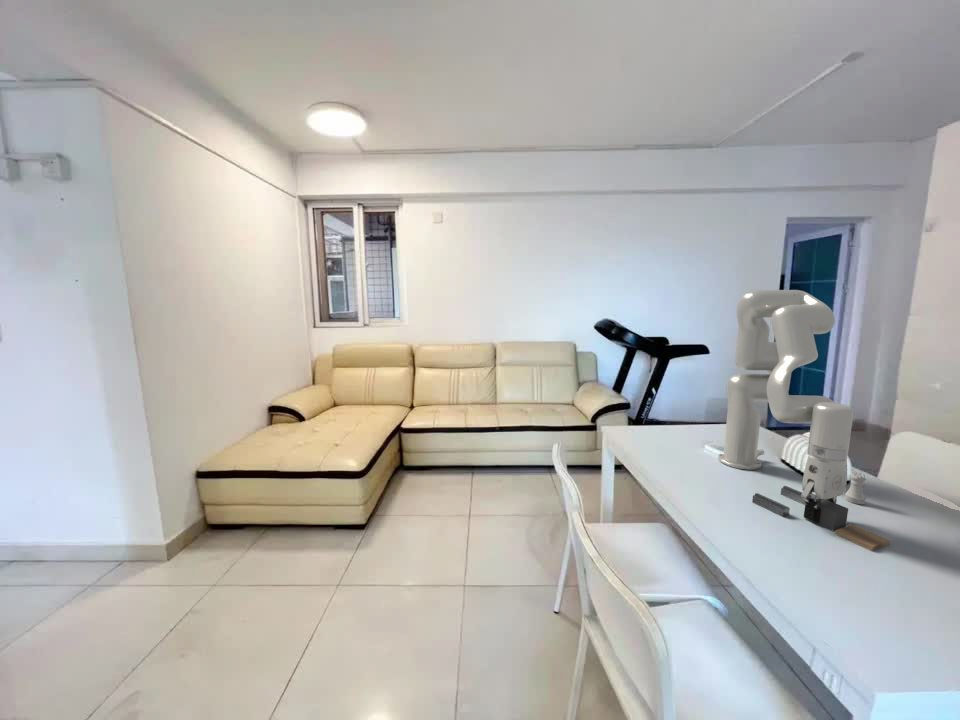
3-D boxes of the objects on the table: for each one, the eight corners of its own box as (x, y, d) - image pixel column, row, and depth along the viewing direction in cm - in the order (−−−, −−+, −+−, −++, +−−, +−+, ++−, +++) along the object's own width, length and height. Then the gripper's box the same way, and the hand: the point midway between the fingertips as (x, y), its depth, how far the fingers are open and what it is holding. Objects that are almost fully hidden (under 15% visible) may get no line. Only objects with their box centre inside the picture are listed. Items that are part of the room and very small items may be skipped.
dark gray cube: (822, 516, 102) (824, 499, 101) (845, 526, 97) (848, 508, 96) (810, 520, 100) (812, 502, 99) (833, 531, 95) (836, 512, 94)
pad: (852, 527, 96) (852, 524, 96) (889, 544, 90) (890, 540, 90) (834, 533, 94) (835, 530, 94) (871, 551, 88) (872, 547, 87)
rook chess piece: (861, 499, 110) (865, 472, 109) (868, 506, 106) (873, 479, 105) (840, 495, 112) (844, 469, 111) (847, 503, 108) (851, 476, 107)
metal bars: (786, 492, 114) (787, 485, 114) (817, 506, 107) (818, 498, 106) (752, 502, 109) (753, 494, 109) (782, 516, 102) (783, 508, 101)
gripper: (823, 462, 91) (813, 533, 94) (866, 452, 97) (855, 519, 100) (788, 451, 98) (780, 517, 101) (830, 442, 104) (821, 504, 107)
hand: (818, 517), depth 100 cm, fingers closed on dark gray cube, 5 cm apart
